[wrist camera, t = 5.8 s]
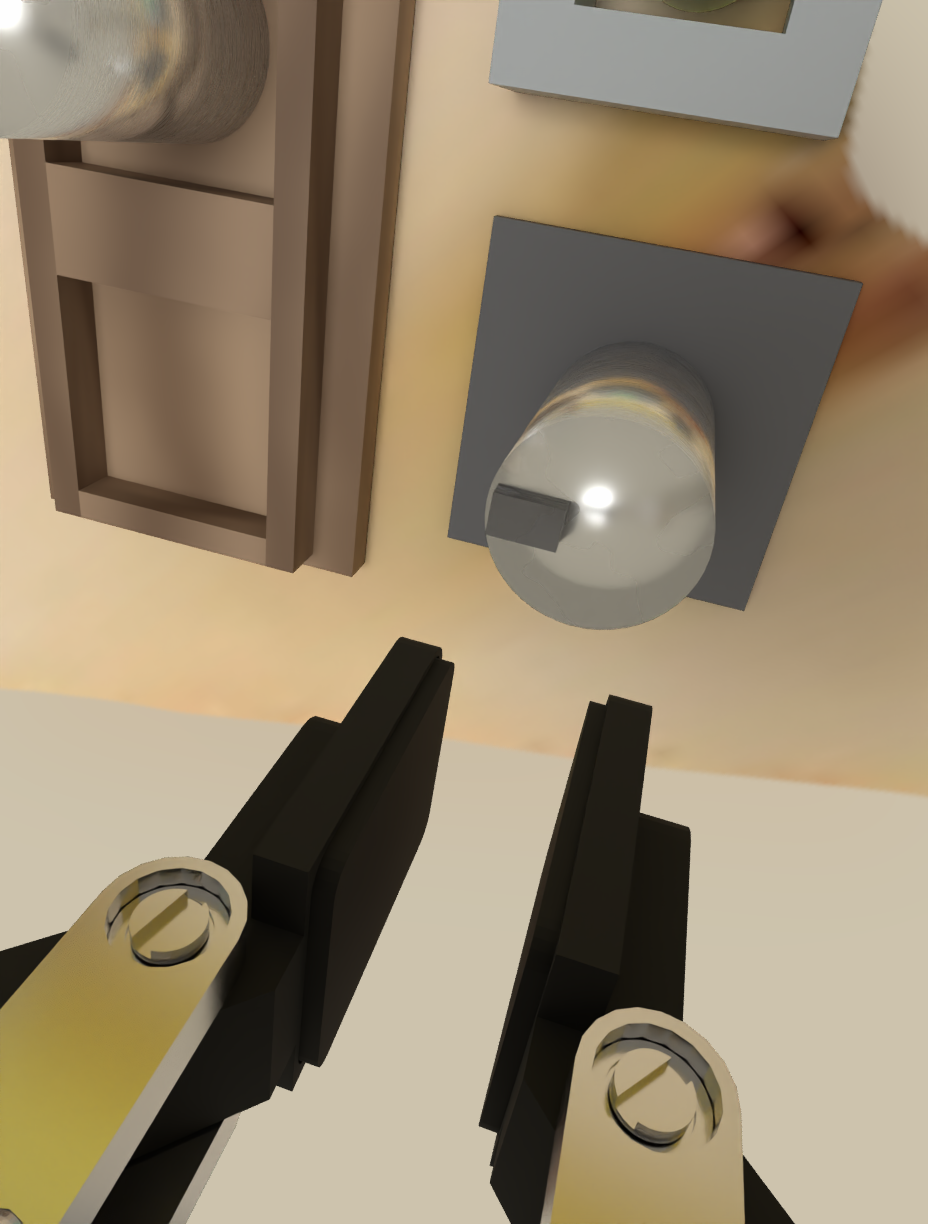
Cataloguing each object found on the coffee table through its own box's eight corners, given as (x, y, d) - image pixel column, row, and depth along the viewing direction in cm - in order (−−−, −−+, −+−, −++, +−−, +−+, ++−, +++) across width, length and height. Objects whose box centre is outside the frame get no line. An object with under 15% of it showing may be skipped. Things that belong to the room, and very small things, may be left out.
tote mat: (860, 281, 22) (863, 283, 22) (744, 605, 27) (743, 611, 27) (497, 215, 24) (494, 216, 23) (450, 532, 29) (447, 537, 28)
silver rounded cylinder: (738, 362, 23) (750, 458, 16) (685, 523, 26) (675, 667, 19) (564, 324, 24) (500, 399, 17) (530, 484, 27) (461, 608, 19)
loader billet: (271, -68, 21) (29, -190, 14) (267, 157, 23) (61, 156, 16) (95, -91, 22) (-223, -219, 14) (109, 129, 24) (-155, 115, 17)
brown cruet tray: (430, -170, 20) (391, -214, 18) (364, 563, 30) (333, 597, 28) (-2, -216, 22) (-89, -262, 20) (72, 487, 32) (20, 513, 30)
